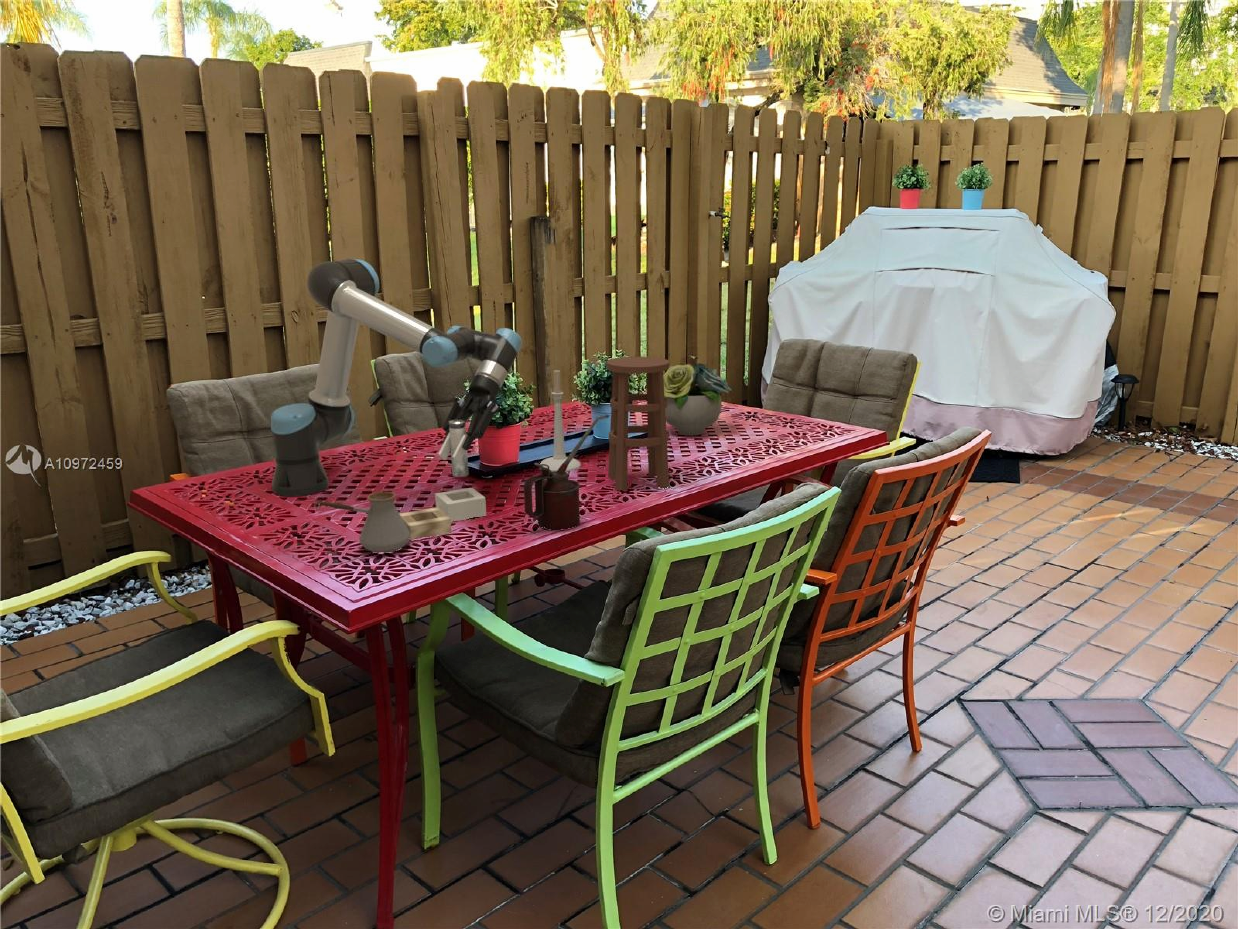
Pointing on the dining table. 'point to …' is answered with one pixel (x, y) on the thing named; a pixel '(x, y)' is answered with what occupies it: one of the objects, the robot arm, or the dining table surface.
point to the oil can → (555, 494)
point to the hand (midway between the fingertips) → (449, 458)
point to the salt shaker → (456, 435)
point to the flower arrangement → (693, 397)
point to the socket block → (426, 523)
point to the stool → (653, 408)
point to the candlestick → (559, 433)
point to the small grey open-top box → (461, 504)
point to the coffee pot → (379, 523)
